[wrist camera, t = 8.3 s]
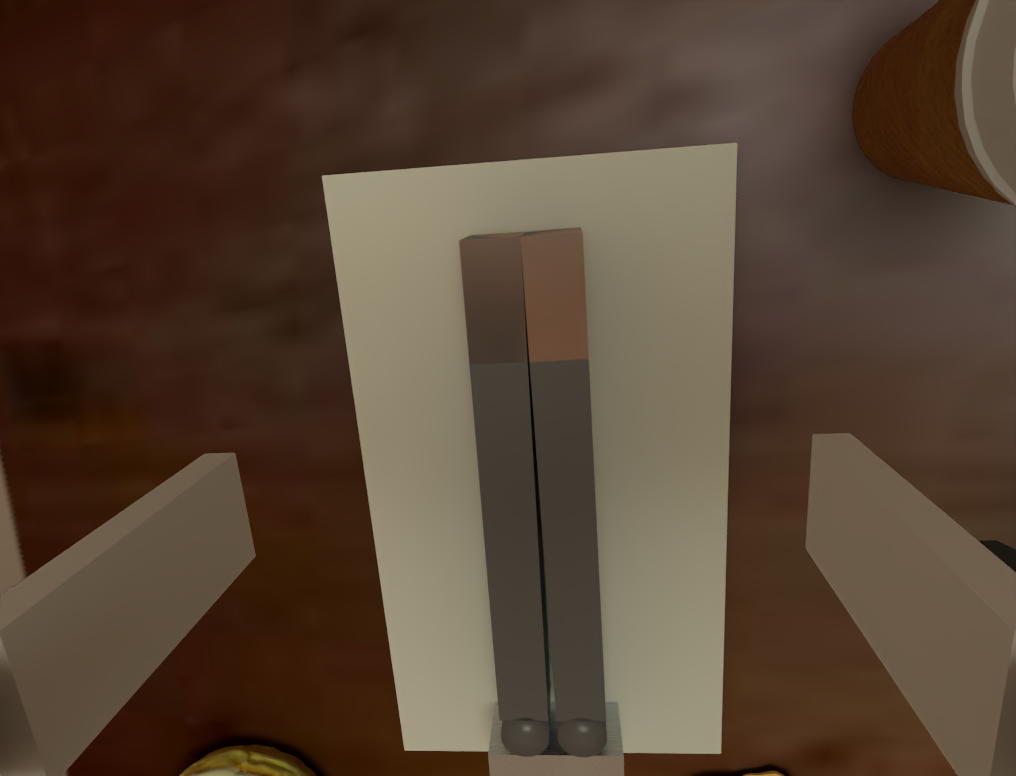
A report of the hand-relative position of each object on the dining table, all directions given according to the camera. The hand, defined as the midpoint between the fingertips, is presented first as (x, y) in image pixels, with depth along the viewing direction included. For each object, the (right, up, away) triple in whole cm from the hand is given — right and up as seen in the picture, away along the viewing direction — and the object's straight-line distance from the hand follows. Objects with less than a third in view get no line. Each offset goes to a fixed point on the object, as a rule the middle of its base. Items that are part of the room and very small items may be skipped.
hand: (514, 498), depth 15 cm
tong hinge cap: (+3, -16, +22) cm, 27 cm away
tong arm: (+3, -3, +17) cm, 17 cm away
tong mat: (+2, -3, +18) cm, 19 cm away
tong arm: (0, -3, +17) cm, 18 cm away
